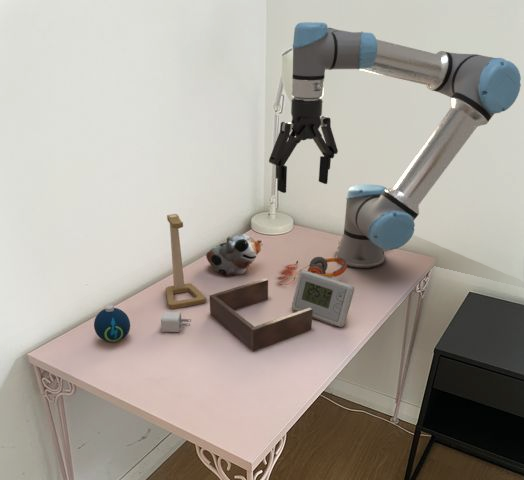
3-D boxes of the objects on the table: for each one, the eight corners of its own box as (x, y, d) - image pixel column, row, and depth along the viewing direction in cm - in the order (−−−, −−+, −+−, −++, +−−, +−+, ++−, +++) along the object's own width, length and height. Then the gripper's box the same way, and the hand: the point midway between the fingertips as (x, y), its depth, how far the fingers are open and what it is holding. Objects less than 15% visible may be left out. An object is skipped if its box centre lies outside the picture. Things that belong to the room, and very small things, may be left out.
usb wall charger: (165, 324, 138) (163, 311, 136) (192, 325, 138) (191, 311, 136) (162, 332, 135) (160, 319, 132) (189, 333, 135) (188, 319, 132)
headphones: (277, 294, 157) (345, 286, 152) (273, 277, 155) (342, 269, 149) (286, 270, 171) (349, 262, 165) (283, 254, 168) (347, 246, 163)
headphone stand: (169, 309, 144) (161, 231, 132) (160, 291, 153) (152, 216, 140) (207, 303, 147) (202, 226, 135) (196, 285, 156) (191, 211, 144)
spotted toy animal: (237, 254, 174) (257, 221, 165) (254, 281, 169) (275, 248, 160) (198, 253, 164) (217, 217, 155) (215, 281, 159) (235, 246, 150)
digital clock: (288, 309, 145) (289, 273, 139) (311, 299, 150) (313, 263, 144) (332, 333, 135) (336, 296, 129) (356, 321, 140) (360, 285, 134)
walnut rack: (265, 297, 150) (265, 278, 147) (311, 329, 136) (312, 309, 133) (210, 315, 142) (209, 295, 139) (253, 351, 128) (253, 330, 125)
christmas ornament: (92, 348, 129) (84, 312, 123) (103, 329, 136) (96, 294, 130) (126, 350, 128) (121, 313, 123) (136, 331, 135) (131, 296, 130)
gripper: (273, 105, 120) (272, 199, 132) (356, 95, 132) (348, 182, 144) (255, 100, 125) (255, 191, 137) (336, 91, 137) (330, 175, 149)
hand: (302, 187), depth 141 cm, fingers open, 13 cm apart
